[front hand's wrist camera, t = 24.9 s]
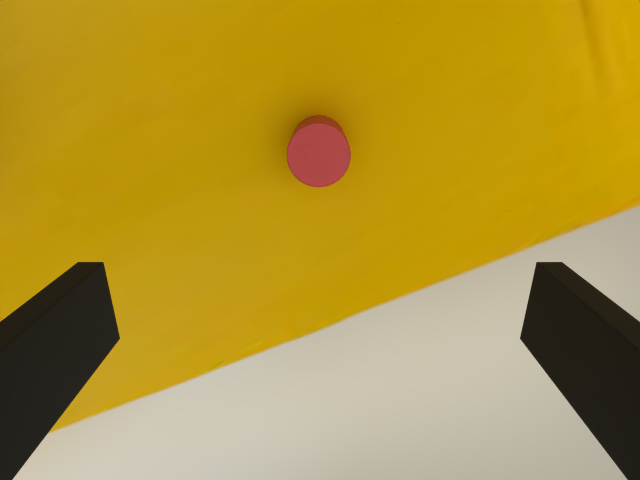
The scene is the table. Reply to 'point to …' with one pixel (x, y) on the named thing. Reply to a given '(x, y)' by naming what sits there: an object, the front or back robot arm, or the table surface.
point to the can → (318, 152)
